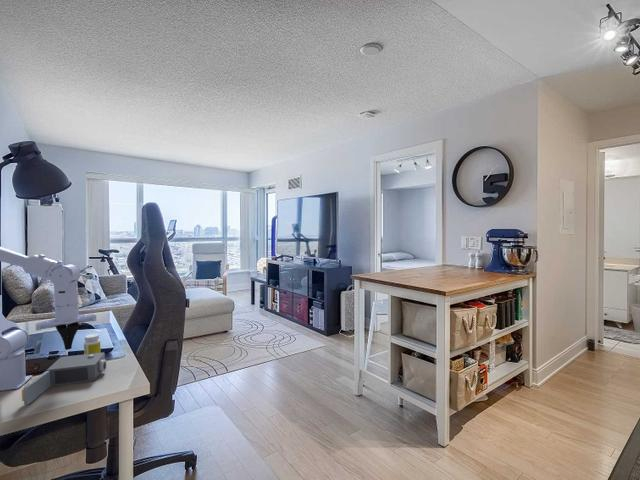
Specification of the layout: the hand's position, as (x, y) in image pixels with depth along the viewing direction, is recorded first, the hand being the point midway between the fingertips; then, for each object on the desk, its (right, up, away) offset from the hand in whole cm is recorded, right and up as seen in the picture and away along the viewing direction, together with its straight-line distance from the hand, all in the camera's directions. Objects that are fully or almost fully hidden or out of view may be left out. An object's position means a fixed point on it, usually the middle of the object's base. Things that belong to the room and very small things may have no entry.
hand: (68, 348), depth 101 cm
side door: (-1, -10, -10) cm, 14 cm away
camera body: (+2, -9, +2) cm, 10 cm away
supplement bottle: (-3, -9, +15) cm, 18 cm away
